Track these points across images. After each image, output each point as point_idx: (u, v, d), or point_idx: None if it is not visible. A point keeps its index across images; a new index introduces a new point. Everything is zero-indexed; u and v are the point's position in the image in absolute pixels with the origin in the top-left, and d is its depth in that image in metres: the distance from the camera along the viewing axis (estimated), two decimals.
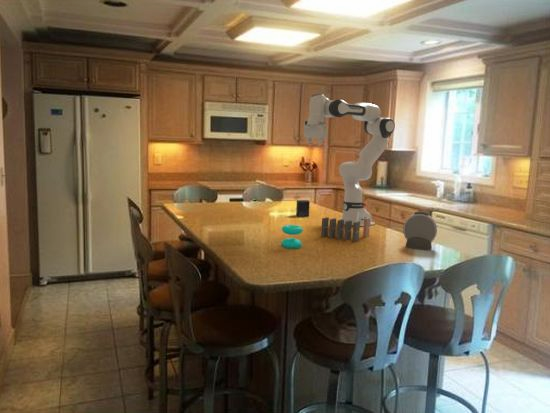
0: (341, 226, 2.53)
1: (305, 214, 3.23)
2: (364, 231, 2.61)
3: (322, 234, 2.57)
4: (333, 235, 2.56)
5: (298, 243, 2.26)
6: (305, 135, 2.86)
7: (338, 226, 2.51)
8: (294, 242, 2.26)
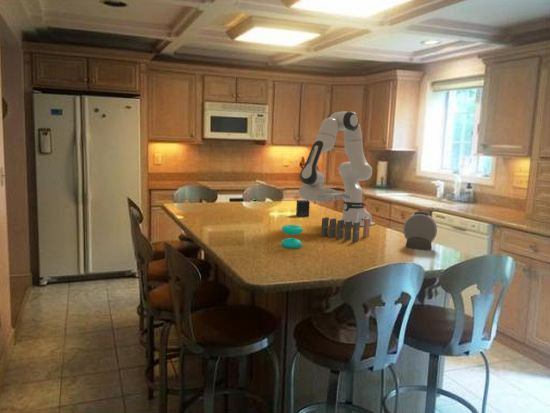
0: (341, 226, 2.53)
1: (305, 214, 3.23)
2: (364, 231, 2.61)
3: (322, 234, 2.57)
4: (333, 235, 2.56)
5: (298, 243, 2.26)
6: None
7: (338, 226, 2.51)
8: (294, 242, 2.26)
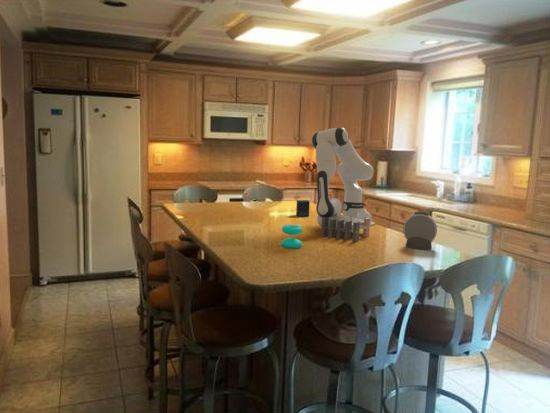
0: (341, 226, 2.53)
1: (305, 214, 3.23)
2: (364, 231, 2.61)
3: (322, 234, 2.57)
4: (333, 235, 2.56)
5: (298, 243, 2.26)
6: None
7: (338, 226, 2.51)
8: (294, 242, 2.26)
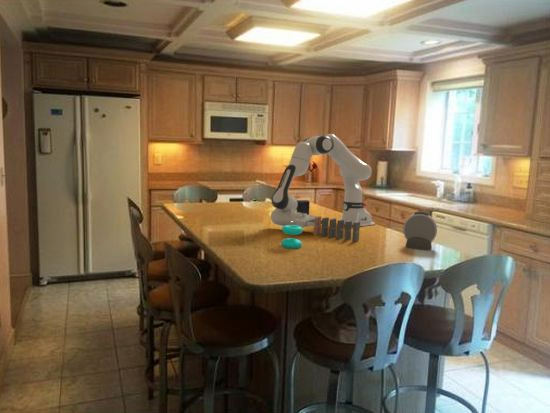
0: (341, 226, 2.53)
1: None
2: (315, 230, 2.59)
3: (322, 234, 2.57)
4: (333, 235, 2.56)
5: (298, 243, 2.26)
6: None
7: (338, 226, 2.51)
8: (294, 242, 2.26)
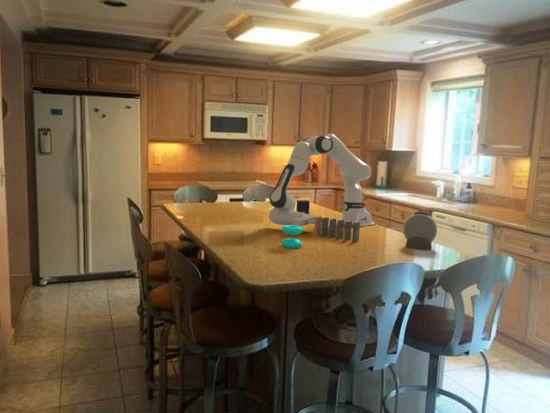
0: (341, 226, 2.53)
1: None
2: (315, 230, 2.59)
3: (322, 234, 2.57)
4: (333, 235, 2.56)
5: (298, 243, 2.26)
6: None
7: (338, 226, 2.51)
8: (294, 242, 2.26)
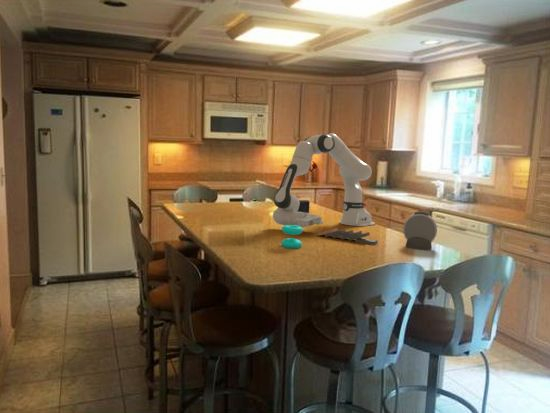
0: None
1: None
2: (322, 233, 2.57)
3: (327, 235, 2.55)
4: None
5: (298, 243, 2.26)
6: None
7: (352, 235, 2.47)
8: (294, 242, 2.26)
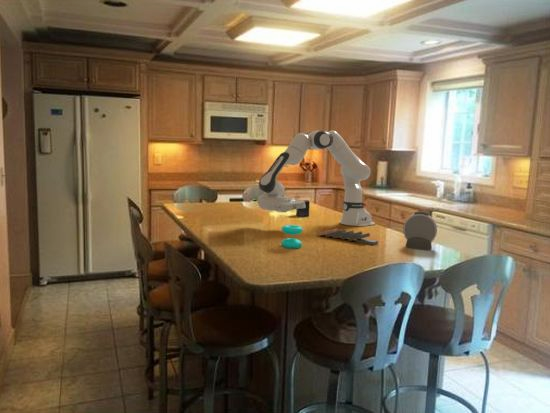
0: None
1: (305, 214, 3.23)
2: (322, 233, 2.57)
3: (327, 235, 2.55)
4: None
5: (298, 243, 2.26)
6: None
7: (352, 235, 2.47)
8: (294, 242, 2.26)
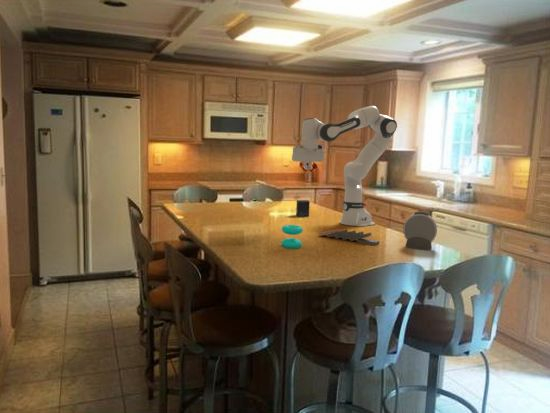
0: (355, 236, 2.48)
1: (305, 214, 3.23)
2: (323, 233, 2.56)
3: (329, 235, 2.55)
4: None
5: (298, 243, 2.26)
6: None
7: (354, 235, 2.47)
8: (294, 242, 2.26)
